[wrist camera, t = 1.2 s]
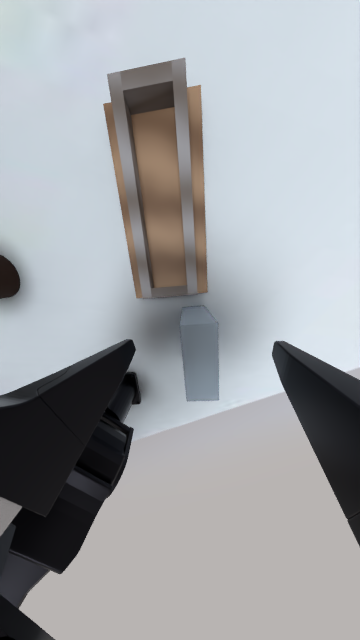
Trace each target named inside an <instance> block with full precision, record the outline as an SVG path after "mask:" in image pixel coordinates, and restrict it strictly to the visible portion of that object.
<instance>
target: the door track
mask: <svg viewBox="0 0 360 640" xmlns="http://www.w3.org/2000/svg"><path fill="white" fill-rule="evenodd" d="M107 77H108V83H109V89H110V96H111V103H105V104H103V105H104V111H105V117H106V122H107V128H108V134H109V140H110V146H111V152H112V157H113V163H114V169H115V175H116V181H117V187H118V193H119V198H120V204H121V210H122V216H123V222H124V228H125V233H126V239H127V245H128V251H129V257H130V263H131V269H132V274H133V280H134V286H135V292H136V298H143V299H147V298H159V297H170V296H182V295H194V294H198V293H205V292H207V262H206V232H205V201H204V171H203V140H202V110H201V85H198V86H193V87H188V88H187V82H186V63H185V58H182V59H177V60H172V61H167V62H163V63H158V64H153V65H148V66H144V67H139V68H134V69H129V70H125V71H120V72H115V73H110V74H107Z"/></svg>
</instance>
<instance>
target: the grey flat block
mask: <svg viewBox="0 0 360 640" xmlns="http://www.w3.org/2000/svg"><path fill="white" fill-rule="evenodd" d="M180 334H181V345H182V356H183V366H184V377H185V388H186V399H187V401H213V400H219V359H218V322H217V321H216V320H215V319H214V317H213V316H212V315H211V314H210V312H209V311H208V310H207V309H206V307H205V306H195V307H183V309H182V315H181V321H180Z"/></svg>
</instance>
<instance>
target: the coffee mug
mask: <svg viewBox="0 0 360 640" xmlns="http://www.w3.org/2000/svg"><path fill="white" fill-rule="evenodd" d="M19 287H20V279H19V275H18V272H17V270H16V269H15V267H14V266H13V264H12V263H11V262H10V261H9V260H8V259H6V258H5V257H3V256H1V255H0V299H1V298H7V297H11V296H14V295H15V294H16V293H17V292H18V290H19Z"/></svg>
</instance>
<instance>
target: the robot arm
mask: <svg viewBox="0 0 360 640" xmlns="http://www.w3.org/2000/svg"><path fill="white" fill-rule="evenodd" d="M135 351H136V349H135V346H134V343H133V340H131V339H126V340H124V341H122V342H120V343H117V344H115V345H113V346H111V347H109V348H107V349H105V350H103V351H101V352H98V353H96V354H94V355H92V356H90V357H88V358H86V359H84V360H81V361H79V362H77V363H75V364H73V365H72V366H69V367H67V368H64V369H62V370H60V371H58V372H56V373H54V374H51V375H49V376H47V377H45V378H42V379H40V380H38V381H35V382H33V383H31V384H28V385H26V386H24V387H21V388H19V389H17V390H14V391H12V392H10V393H7V394H4V395H1V396H0V640H55V639H53V637H51V636H50V635H49V634H48V633H46V632H45V631H44V630H43V629H42V628H40V627H39V626H38V625H37V624H36V623H34V622H33V621H32V620H31V619H30V618H28V617H27V616H26V615H25V614H23V613H22V612H21V611H20V610H19V607H20V605H21V604H22V602H23V600H24V599H25V597H26V595H27V593H28V592H29V591H30V590H31V589H32V588H33V587H34V586H35V585H36V584H37V583H38V582H39V581H40V580H41V579H42V578H43V577H44V576H45V575H46V574H47V573H48V572H49V571H50V570H51V571H53V572H56V573H58V574H61V573H62V572H63V571H64V570H65V569H66V568H67V567H68V565H69V564H70V563H71V562H72V560H73V559H74V558H75V556H76V555H77V554H78V552H79V550H80V548H81V546H82V544H83V542H84V540H85V538H86V536H87V533H88V531H89V529H90V527H91V525H92V523H93V521H94V519H95V517H96V515H97V513H98V511H99V509H100V508H101V506H102V504H103V502H104V500H105V499H106V498H108V497H109V496H110V495H111V493H112V492H113V490H114V489H115V487H116V485H117V484H118V481H119V480H120V478H121V475H122V473H123V471H124V468H125V465H126V463H127V459H128V454H129V450H130V445H131V440H132V435H133V430H134V429H133V428H131V427H128V426H127V425H125V424H123V422H124V420H125V418H126V416H127V414H128V411H129V409H130V407H131V405H132V404H140V403H141V397H140V392H139V387H138V382H137V377H136V374H135V373H126V372H127V370H128V367H129V365H130V363H131V360H132V358H133V356H134V354H135ZM272 357H273V360H274V363H275V366H276V369H277V372H278V374H279V377H280V380H281V383H282V385H283V387H284V389H285V391H286V393H287V396H288V398H289V400H290V402H291V404H292V406H293V408H294V410H295V412H296V414H297V416H298V419H299V421H300V423H301V425H302V427H303V429H304V431H305V433H306V435H307V437H308V439H309V441H310V444H311V446H312V448H313V450H314V452H315V454H316V456H317V458H318V460H319V462H320V464H321V467H322V469H323V471H324V473H325V475H326V477H327V479H328V481H329V483H330V485H331V487H332V489H333V491H334V494H335V496H336V497H337V500H338V502H339V504H340V506H341V508H342V510H343V512H344V514H345V516H346V518H347V519H348V523H349V525H350V527H351V529H352V531H353V534H354V536H355V538H356V540H357V542H358V544H359V546H360V380H359V379H357V378H355V377H353V376H351V375H349V374H347V373H345V372H343V371H341V370H339V369H337V368H335V367H333V366H331V365H329V364H327V363H326V362H324V361H322V360H320V359H318V358H316V357H314V356H312V355H310V354H308V353H306V352H304V351H302V350H300V349H298V348H296V347H294V346H293V345H291V344H289V343H287V342H285V341H275V343H274V346H273V351H272ZM132 375H133V376H132Z"/></svg>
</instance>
